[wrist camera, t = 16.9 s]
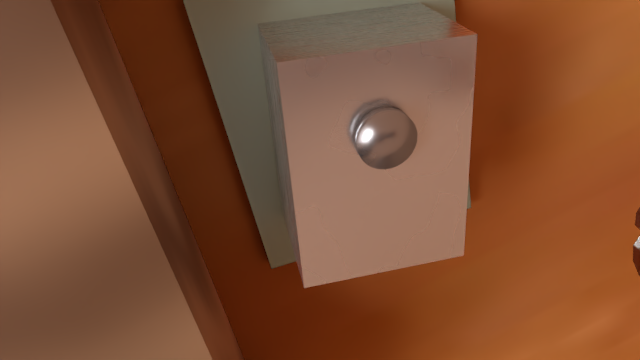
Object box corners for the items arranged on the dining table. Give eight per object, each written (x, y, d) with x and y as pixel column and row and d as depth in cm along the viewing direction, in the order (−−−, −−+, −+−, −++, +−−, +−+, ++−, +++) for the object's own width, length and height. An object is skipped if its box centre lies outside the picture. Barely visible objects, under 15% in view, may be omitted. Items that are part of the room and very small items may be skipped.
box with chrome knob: (417, 192, 18) (470, 264, 15) (283, 216, 17) (306, 298, 14) (418, 2, 15) (486, 38, 12) (257, 23, 14) (279, 68, 11)
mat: (465, 201, 19) (471, 207, 19) (269, 261, 19) (271, 268, 18) (441, -80, 15) (447, -79, 14) (180, -12, 14) (179, -9, 14)
